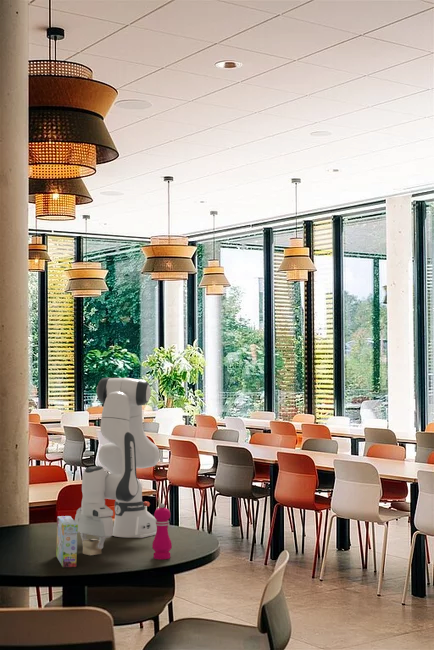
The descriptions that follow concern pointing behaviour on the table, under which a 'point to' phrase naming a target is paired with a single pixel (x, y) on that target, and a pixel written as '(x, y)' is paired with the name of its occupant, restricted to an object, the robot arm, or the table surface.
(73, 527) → the snack box
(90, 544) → the letter cube
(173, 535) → the table surface
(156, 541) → the pepper mill
